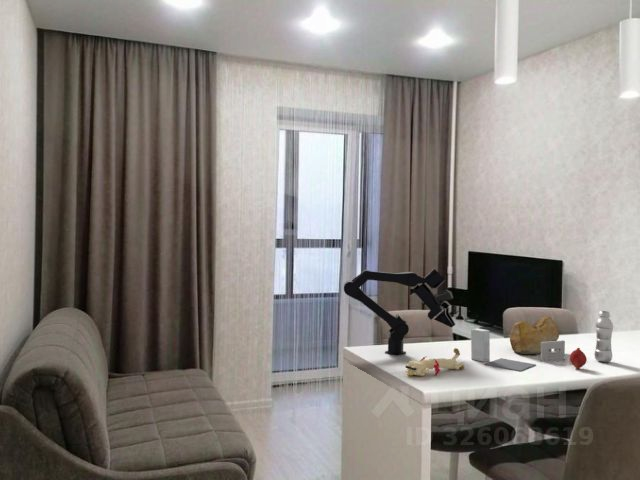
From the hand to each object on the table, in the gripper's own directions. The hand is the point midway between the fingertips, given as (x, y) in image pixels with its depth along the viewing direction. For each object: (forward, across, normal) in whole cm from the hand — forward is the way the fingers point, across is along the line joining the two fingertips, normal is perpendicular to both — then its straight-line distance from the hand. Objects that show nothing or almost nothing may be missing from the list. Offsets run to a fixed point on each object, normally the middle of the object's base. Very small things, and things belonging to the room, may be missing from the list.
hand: (453, 326), depth 227 cm
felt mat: (+25, -3, -7) cm, 26 cm away
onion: (+41, +3, -23) cm, 48 cm away
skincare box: (+17, 0, +2) cm, 17 cm away
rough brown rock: (+29, +29, -10) cm, 42 cm away
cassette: (+35, +14, -17) cm, 41 cm away
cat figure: (+8, -28, +10) cm, 31 cm away
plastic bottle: (+48, +21, -30) cm, 61 cm away
